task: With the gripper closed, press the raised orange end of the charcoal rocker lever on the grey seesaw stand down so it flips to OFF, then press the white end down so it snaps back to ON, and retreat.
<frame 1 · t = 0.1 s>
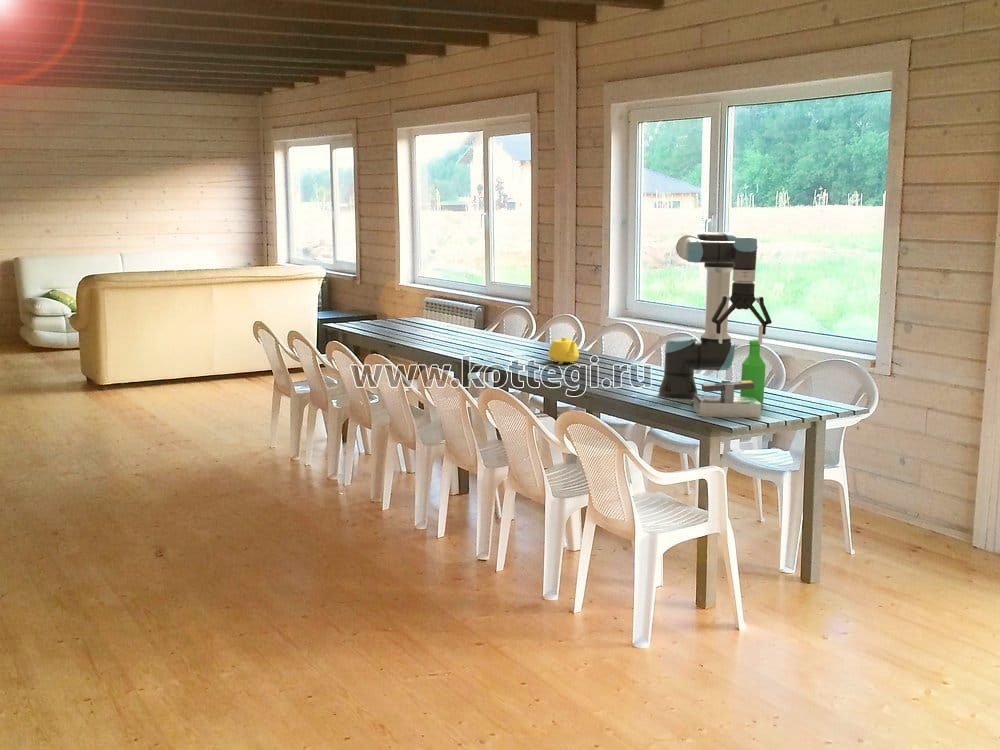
hand: (740, 343, 350), 28 cm above the table, fingers open, 13 cm apart
bottle: (751, 405, 388), on the table
cord a: (712, 407, 381), on the table
cord b: (711, 406, 384), on the table
teapot: (564, 363, 482), on the table
rocker: (727, 386, 369), point 10 cm above the table, hinge at 5.0°
grey seesaw stand: (726, 413, 371), on the table
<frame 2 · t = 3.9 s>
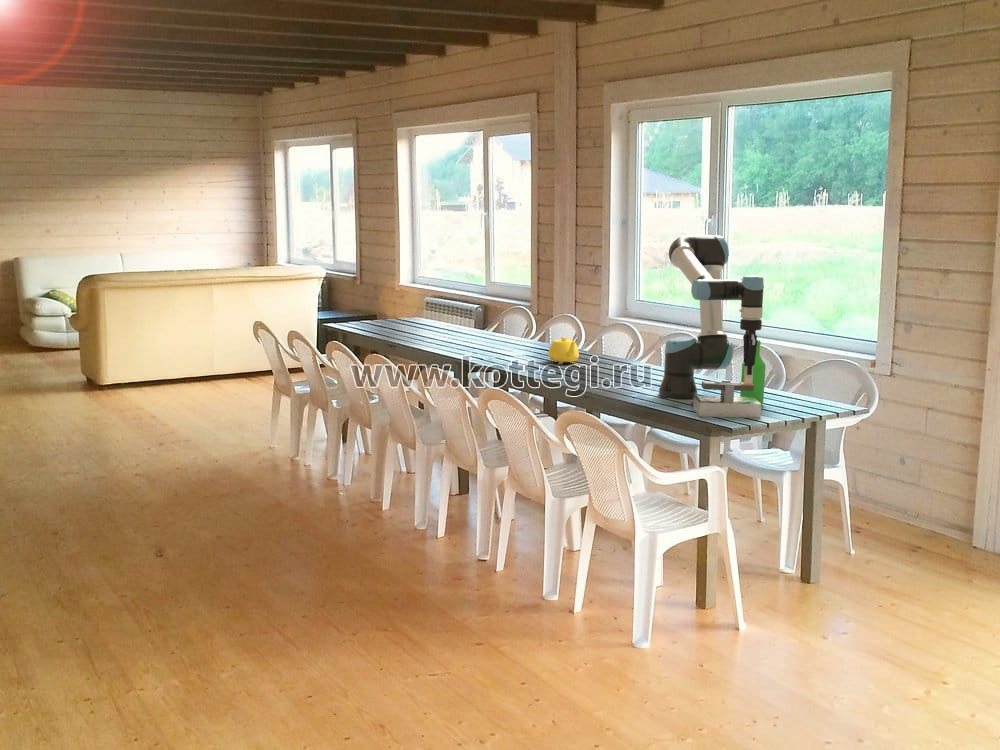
hand: (748, 383, 369), 11 cm above the table, fingers closed
rocker: (727, 386, 369), point 10 cm above the table, hinge at -1.0°, touching gripper
everything else where it was.
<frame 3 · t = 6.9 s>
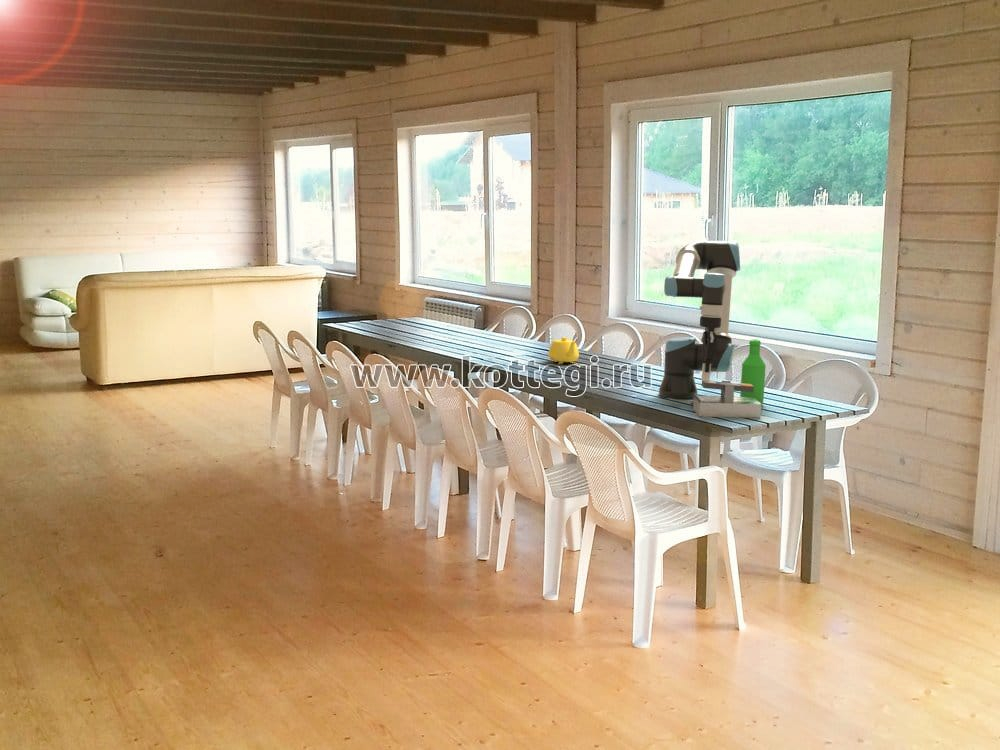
hand: (705, 380, 369), 12 cm above the table, fingers closed
rocker: (727, 386, 369), point 10 cm above the table, hinge at -3.8°, touching gripper
everything else where it was.
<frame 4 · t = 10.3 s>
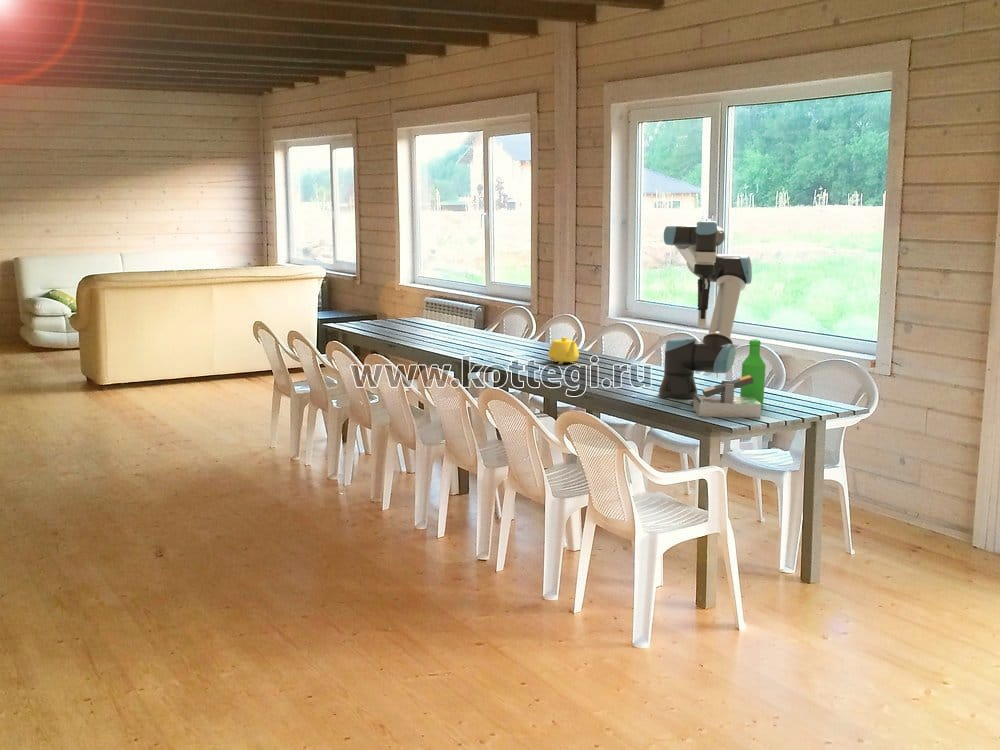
hand: (701, 327, 375), 30 cm above the table, fingers closed
rocker: (727, 386, 369), point 10 cm above the table, hinge at 18.7°
everything else where it was.
at the end: rocker at +19° (first picture: +5°) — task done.
